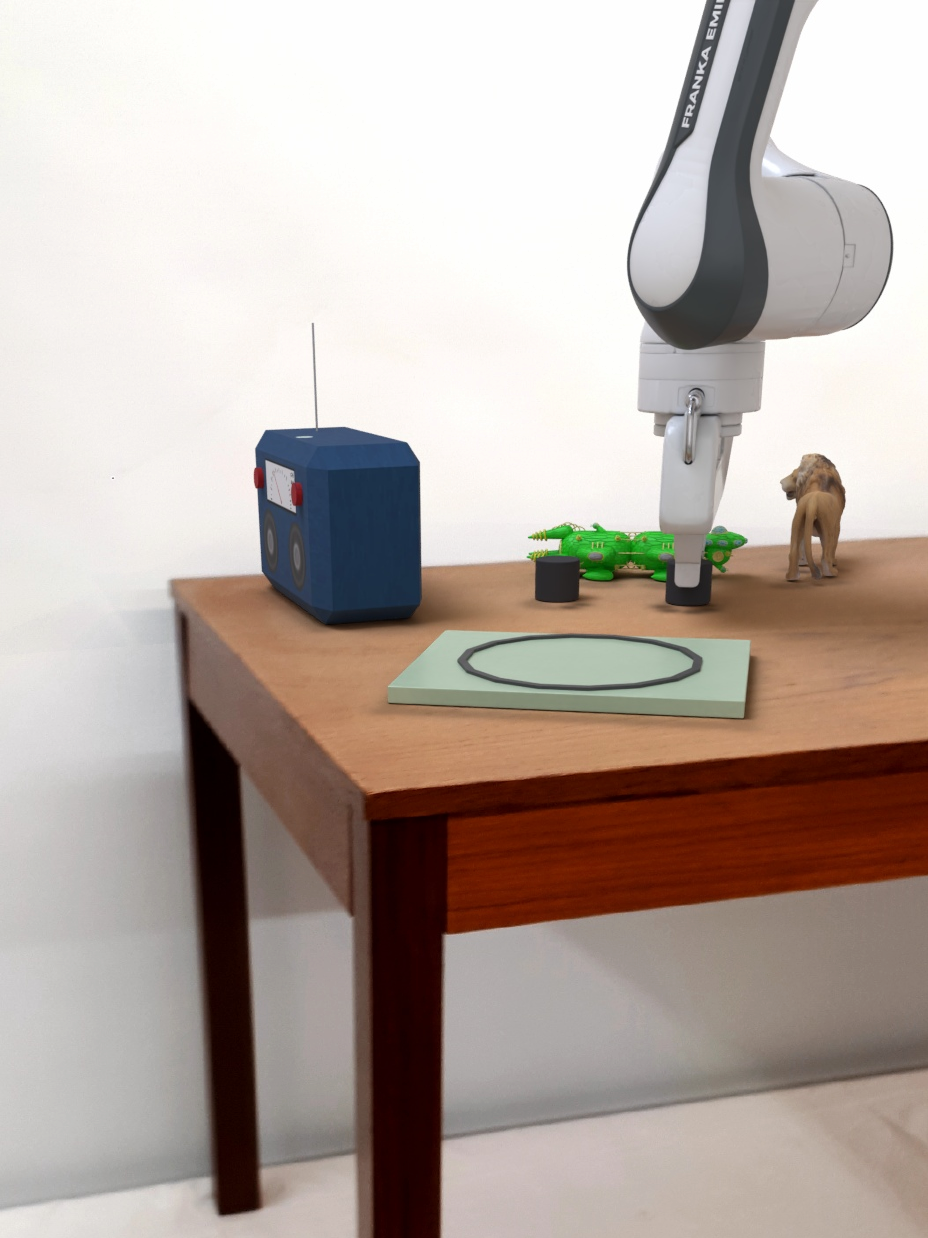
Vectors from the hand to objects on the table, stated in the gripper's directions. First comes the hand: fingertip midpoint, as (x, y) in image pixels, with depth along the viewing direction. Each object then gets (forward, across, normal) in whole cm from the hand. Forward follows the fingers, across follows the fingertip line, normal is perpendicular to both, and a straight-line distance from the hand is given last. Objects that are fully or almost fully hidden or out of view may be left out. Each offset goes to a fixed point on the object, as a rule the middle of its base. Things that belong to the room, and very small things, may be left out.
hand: (688, 580), depth 111 cm
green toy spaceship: (+2, +11, +5) cm, 12 cm away
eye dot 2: (+2, 0, 0) cm, 2 cm away
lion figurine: (+2, +16, -9) cm, 18 cm away
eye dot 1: (+2, 0, +10) cm, 10 cm away
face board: (+2, -26, +5) cm, 27 cm away
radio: (+2, -4, +27) cm, 27 cm away
